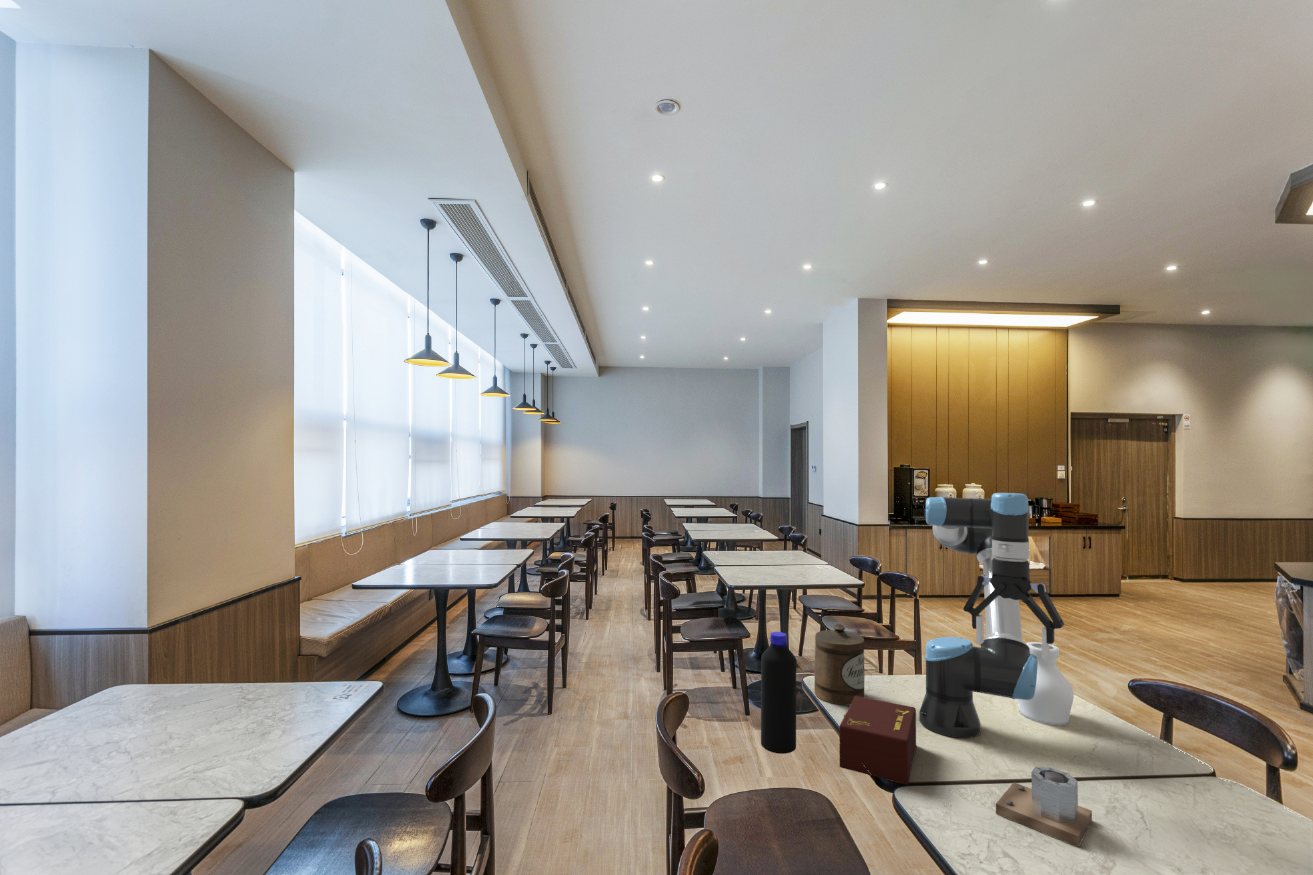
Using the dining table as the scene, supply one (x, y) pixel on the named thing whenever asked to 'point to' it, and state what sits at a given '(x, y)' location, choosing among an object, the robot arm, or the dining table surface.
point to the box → (878, 739)
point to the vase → (1048, 690)
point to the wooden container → (839, 665)
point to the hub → (1055, 796)
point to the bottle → (778, 696)
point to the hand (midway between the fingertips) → (1011, 650)
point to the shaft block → (1020, 810)
